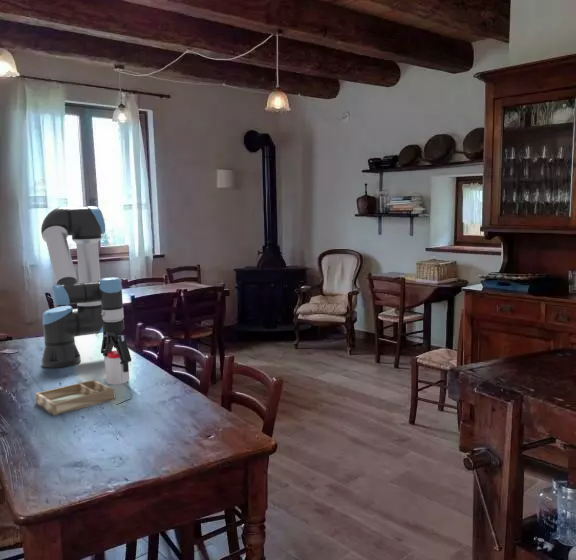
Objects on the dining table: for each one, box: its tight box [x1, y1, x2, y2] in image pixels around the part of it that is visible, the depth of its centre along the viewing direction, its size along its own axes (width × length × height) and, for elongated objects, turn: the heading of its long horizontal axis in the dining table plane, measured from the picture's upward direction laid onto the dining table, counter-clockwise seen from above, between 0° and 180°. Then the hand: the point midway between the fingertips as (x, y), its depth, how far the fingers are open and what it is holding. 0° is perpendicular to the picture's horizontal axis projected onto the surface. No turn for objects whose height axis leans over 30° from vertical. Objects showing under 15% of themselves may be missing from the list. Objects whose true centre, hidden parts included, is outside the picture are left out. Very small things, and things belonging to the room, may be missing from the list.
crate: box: [34, 379, 116, 416], centre depth 188 cm, size 16×20×4 cm
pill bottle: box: [104, 350, 129, 385], centre depth 209 cm, size 8×8×11 cm
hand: (117, 376), depth 209 cm, fingers open, 13 cm apart
